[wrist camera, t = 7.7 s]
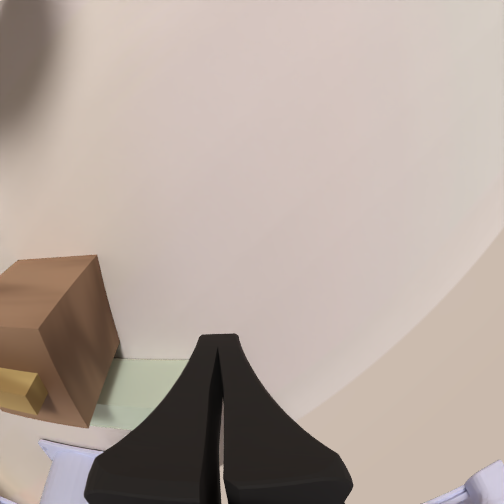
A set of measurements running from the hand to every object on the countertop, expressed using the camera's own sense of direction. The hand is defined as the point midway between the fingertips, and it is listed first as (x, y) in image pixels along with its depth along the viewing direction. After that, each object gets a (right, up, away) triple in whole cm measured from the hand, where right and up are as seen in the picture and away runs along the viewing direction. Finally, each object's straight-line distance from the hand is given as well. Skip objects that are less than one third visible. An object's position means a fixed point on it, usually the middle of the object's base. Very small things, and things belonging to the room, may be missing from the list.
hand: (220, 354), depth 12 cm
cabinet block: (-8, +1, +3) cm, 9 cm away
